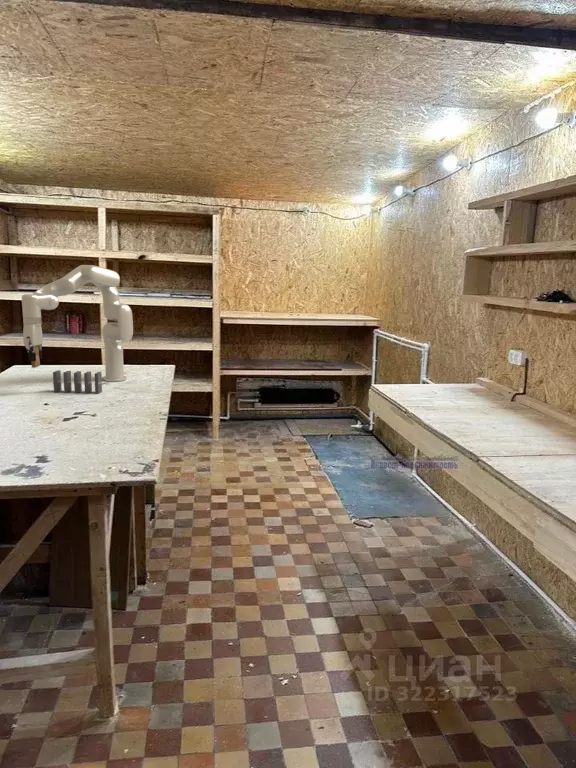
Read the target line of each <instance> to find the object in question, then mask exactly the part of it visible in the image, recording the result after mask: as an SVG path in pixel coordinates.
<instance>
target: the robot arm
mask: <svg viewBox="0 0 576 768" xmlns="http://www.w3.org/2000/svg"><path fill="white" fill-rule="evenodd" d="M120 282H121V277H120V275H119V273H118V272H116V271H115V270H112V269H107V268H106V267H105V268H104V267H101V266H98V265H92V264H89V265H88V264H81V265H78V266H77V267H75V268H74V269H73V270H71V271H70V272H68V273H67V274H65V276H62V277H61V278H60V279H57V280H55V281H53V282H49V283H48V284H45V285H44V286H42V287H40V288H38V289H37V290H36V291H35V292H33V293H32V294H30V293H28V294H27V293H26V294H22V295H21V306H22V319H23V322H22V323H23V330H22V331H23V332H22V335H23V336H22V338H23V339H22V340H23V346H25V348H26V350H27V353H28V354H27V355H28V361H29V362H31V361H36V352H35V346H37V345H38V346H39V359H40V360H42V359H43V355H42V353H43V352H42V349H43V348H42V347H43V343H44V341H43V340H44V338H43V330H42V329H43V328H42V310H47V311H51V310H55V309H56V308H58V306H59V303H60V300H59V298H58V297H62V296H68V295H71V294H73V293H75V292H77V290H78V289H81V287H83V286H84V285H86V284H88V283H92V284H94V285H95V286H96V287H97V288H98V289H99V290H100V292H101V295H102V304H103V305H102V306H103V315H104V317H105V319H107V320H110V321H114V322H108V323H107V322H106V324H104V326H103V327H102V329H101V330H102V331H101V332H102V333H101V335H102V339H103V343H104V361H105V362H104V363H105V364H104V366H105V370H104V371H105V376H102V380H103V381H105V382H123V381H126V380H127V378H128V377H127V376H125V375H124V374H125V373H124V346H123V344H122V343H123V342H124V343H125V342H129V341H131V340H132V338H133V335H134V321H133V311H132V308H131V306H129V305H128V304H126V303H121V301H120V293H119V289H118V288H117V287H118V286H119V284H120ZM115 321H116V322H115ZM31 347H33V349H32V348H31Z"/></svg>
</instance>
